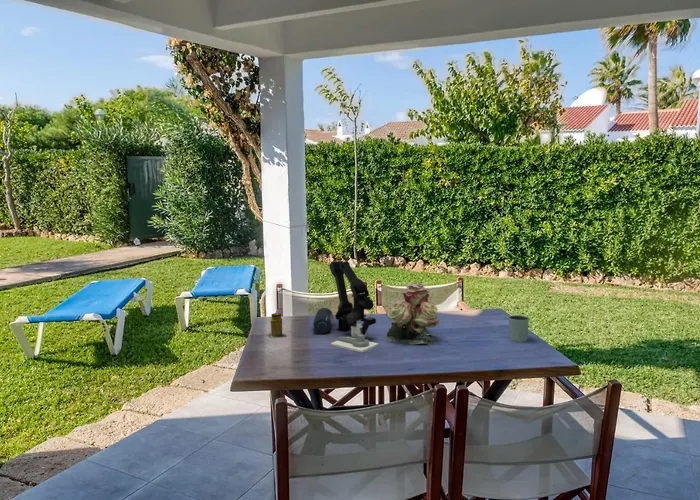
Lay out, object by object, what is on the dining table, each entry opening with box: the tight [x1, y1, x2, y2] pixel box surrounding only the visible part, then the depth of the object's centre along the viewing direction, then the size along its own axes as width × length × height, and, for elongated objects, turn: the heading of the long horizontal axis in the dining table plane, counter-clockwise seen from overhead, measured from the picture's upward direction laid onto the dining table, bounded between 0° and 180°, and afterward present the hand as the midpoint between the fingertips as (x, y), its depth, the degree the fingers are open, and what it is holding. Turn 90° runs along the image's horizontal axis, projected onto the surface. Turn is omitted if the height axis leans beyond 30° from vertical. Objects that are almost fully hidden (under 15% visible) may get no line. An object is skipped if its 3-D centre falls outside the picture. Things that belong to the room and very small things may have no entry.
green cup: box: [508, 314, 530, 343], centre depth 279 cm, size 10×10×12 cm
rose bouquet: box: [385, 282, 440, 346], centre depth 282 cm, size 26×29×30 cm
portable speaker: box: [312, 307, 334, 334], centre depth 304 cm, size 25×10×10 cm, turn 179°
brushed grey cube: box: [350, 323, 368, 339], centre depth 288 cm, size 6×6×6 cm
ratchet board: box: [330, 334, 379, 354], centre depth 273 cm, size 20×14×6 cm
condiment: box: [269, 312, 288, 338], centre depth 292 cm, size 7×8×12 cm
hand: (359, 334), depth 288 cm, fingers closed on brushed grey cube, 6 cm apart
